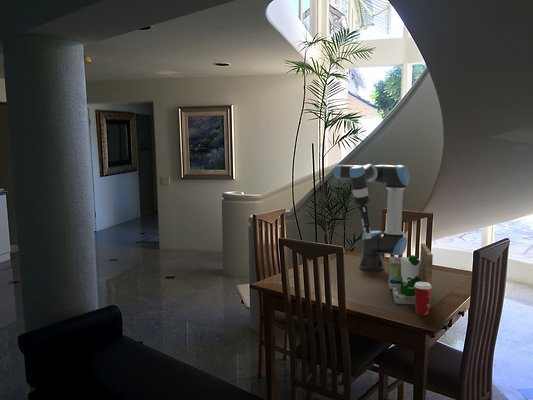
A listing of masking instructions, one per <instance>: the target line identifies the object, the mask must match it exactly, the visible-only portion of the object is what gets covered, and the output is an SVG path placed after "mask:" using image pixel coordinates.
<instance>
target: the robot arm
mask: <svg viewBox="0 0 533 400" xmlns="http://www.w3.org/2000/svg"><path fill="white" fill-rule="evenodd" d="M410 175H411V174H410V170H409V168H408V167H407V166H406V165H402V164H377V165H374V164H372V163H366V164H364V165H361V164H360V165H359V164H358V165H355V164H353V165H350V164H336V165H335V166H334V169H333V176H334V178H336V179H340V180H341V179H342V180H345V179H346V180H350V181H351V188H352V190H351V193H352V194H353V200H354V204H355V205H358V209H359V213H360V217H361V224H362V229H363V233H362V237H361V238H362V241H361V242H362V243H361V245H362V248H361V249H362V251H361V258H360V261H359V264H358V267H359V269H361V270H364V271H371V272H375V271H378V272H379V271H382V270H384V269H385V265H384V261H383V257H382V254H385V255H386V254H387V255H392V256H402V255H403V254H404V253H405V252H406V248H407V245H408V240H407V239H408V237H406V236H405V234H404V232H403V231H402V223H403V222H402V219H403V218H402V217H403V197H404V196H403V195H404V194H403V193H404V190H405V189H406V188H407V186H408V185H409V184H410V181H411V176H410ZM367 182H371V183H375V184H381V185H382V184H383V185H385V188H386V189H387V204H386V205H387V208H386V209H387V210H386V211H387V212H386V229H385V230H384V231H383V232H382V231H381V230H371V225H370V220H369V216H368V215H369V212H368V206H367V204H369V202H370V196H369V190H368V184H367Z"/></svg>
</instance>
